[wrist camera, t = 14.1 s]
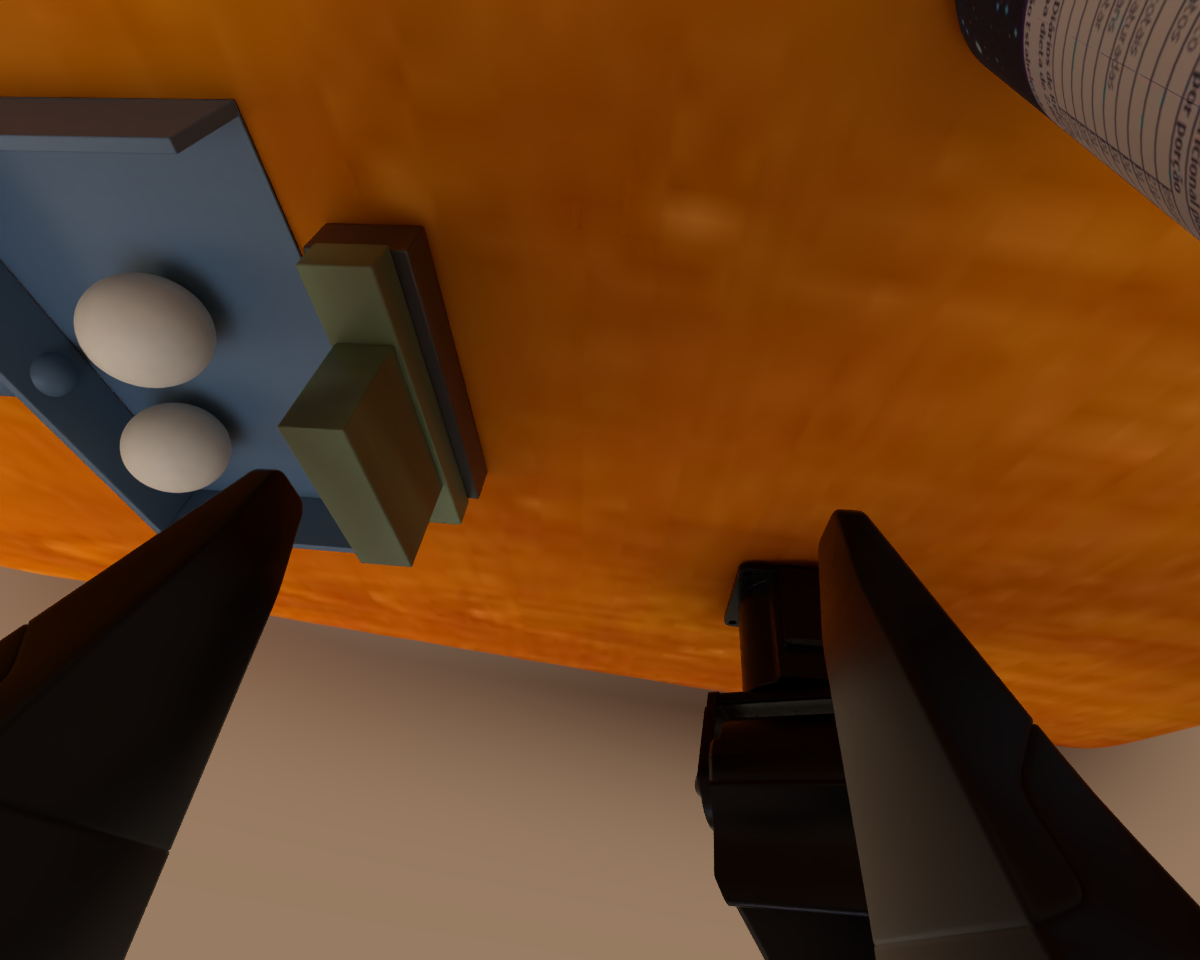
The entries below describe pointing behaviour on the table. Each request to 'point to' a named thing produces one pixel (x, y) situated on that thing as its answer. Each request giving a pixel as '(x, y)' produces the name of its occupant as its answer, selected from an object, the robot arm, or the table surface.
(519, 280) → the table surface
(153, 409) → the crumb
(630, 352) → the table surface
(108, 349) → the crumb
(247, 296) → the dustpan
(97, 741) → the robot arm
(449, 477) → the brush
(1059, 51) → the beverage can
